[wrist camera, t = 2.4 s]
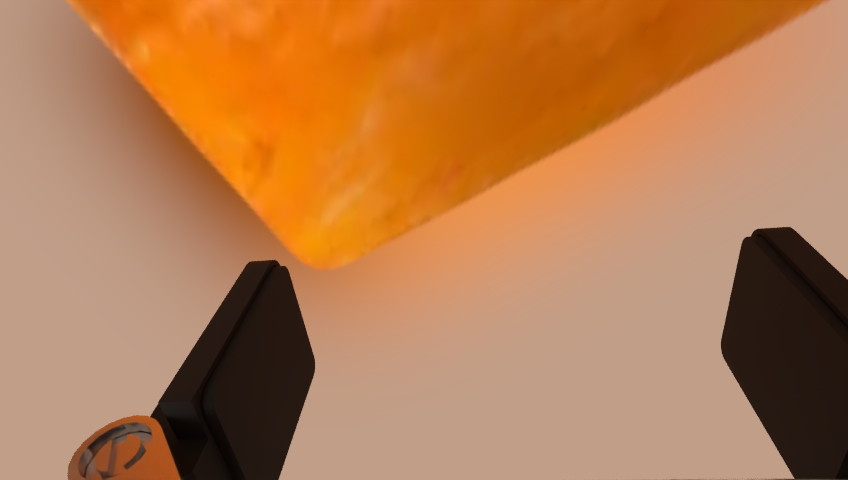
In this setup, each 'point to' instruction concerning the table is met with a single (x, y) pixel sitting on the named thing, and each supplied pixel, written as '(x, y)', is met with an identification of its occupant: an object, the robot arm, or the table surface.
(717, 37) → the table surface
